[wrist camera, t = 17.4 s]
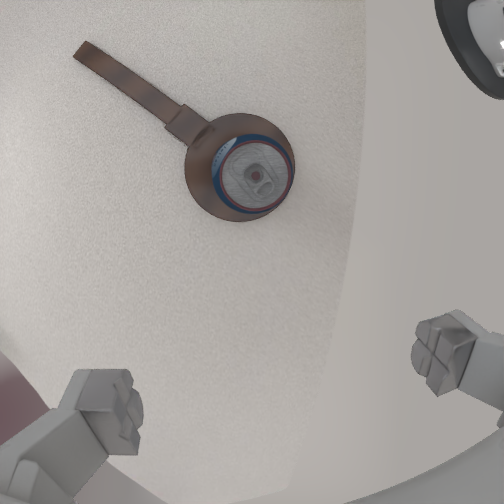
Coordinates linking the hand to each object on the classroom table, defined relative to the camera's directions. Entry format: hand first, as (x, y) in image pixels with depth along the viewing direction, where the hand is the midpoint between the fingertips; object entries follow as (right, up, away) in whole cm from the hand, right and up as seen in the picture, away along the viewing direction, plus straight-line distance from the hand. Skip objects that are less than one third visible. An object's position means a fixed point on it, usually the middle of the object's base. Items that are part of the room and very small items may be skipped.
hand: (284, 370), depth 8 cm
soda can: (-2, +13, +28) cm, 31 cm away
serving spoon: (-10, +19, +25) cm, 33 cm away
